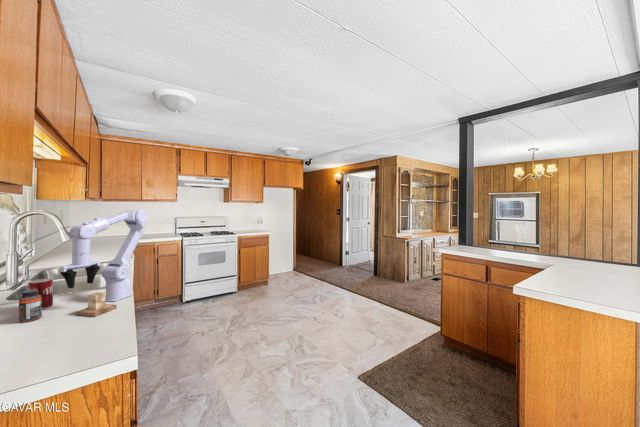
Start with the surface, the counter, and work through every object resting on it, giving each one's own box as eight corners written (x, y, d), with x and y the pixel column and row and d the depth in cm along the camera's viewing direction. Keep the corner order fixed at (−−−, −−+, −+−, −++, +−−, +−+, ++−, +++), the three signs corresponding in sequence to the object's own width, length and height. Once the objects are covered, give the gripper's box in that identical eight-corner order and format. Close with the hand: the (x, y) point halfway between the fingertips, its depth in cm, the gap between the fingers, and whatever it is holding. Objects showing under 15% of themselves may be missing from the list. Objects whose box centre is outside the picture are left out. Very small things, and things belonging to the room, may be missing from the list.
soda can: (53, 303, 119) (52, 277, 119) (53, 308, 114) (52, 280, 113) (29, 308, 114) (28, 280, 114) (27, 312, 109) (27, 283, 108)
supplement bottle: (16, 320, 101) (16, 291, 101) (38, 315, 106) (38, 287, 106) (22, 324, 98) (21, 293, 98) (44, 318, 103) (43, 289, 103)
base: (98, 307, 115) (98, 303, 115) (116, 308, 114) (116, 304, 114) (76, 315, 106) (76, 311, 106) (95, 316, 105) (95, 312, 105)
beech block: (97, 305, 112) (97, 291, 112) (105, 306, 112) (105, 292, 112) (87, 309, 108) (87, 294, 108) (95, 310, 108) (95, 295, 108)
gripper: (91, 250, 120) (90, 280, 120) (53, 255, 105) (53, 289, 105) (104, 251, 118) (103, 281, 118) (68, 256, 104) (67, 290, 104)
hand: (80, 285), depth 112 cm, fingers open, 7 cm apart
